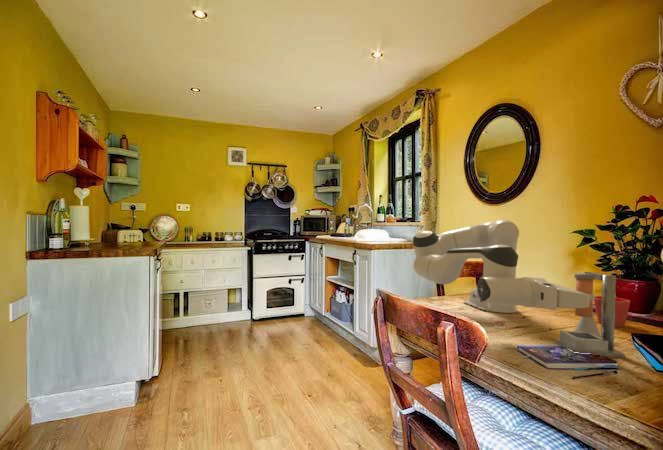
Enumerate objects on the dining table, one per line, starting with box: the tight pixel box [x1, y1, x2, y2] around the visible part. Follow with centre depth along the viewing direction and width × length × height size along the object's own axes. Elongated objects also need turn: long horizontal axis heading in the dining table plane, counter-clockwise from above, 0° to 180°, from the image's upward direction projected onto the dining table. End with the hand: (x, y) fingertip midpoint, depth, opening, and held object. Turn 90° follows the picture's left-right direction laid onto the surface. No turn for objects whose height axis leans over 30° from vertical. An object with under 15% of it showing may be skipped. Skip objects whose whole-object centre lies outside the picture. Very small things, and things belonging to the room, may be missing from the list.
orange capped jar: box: [574, 272, 596, 318], centre depth 100 cm, size 5×5×12 cm
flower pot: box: [593, 295, 631, 328], centre depth 129 cm, size 11×11×10 cm
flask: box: [573, 304, 601, 338], centre depth 115 cm, size 7×7×10 cm
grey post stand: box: [555, 271, 626, 359], centre depth 102 cm, size 13×15×22 cm
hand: (587, 295), depth 100 cm, fingers closed on orange capped jar, 4 cm apart
